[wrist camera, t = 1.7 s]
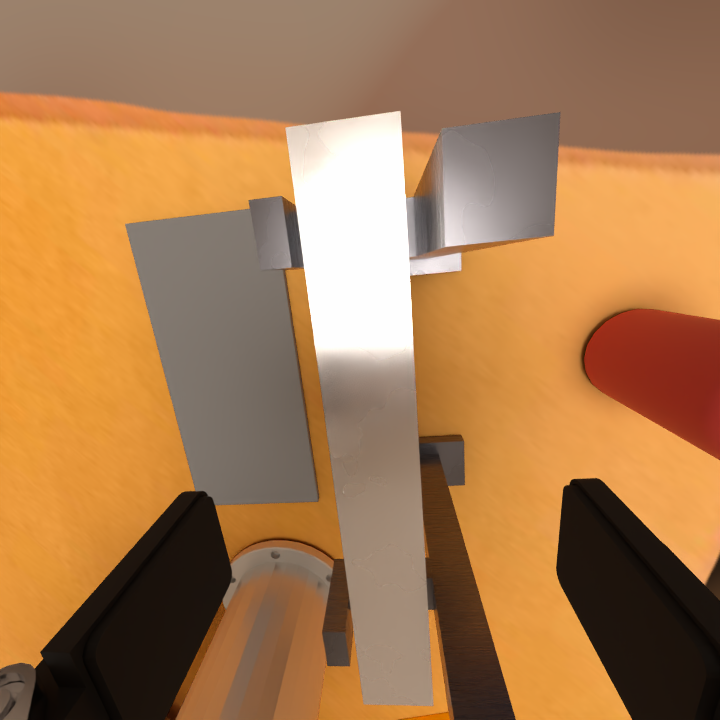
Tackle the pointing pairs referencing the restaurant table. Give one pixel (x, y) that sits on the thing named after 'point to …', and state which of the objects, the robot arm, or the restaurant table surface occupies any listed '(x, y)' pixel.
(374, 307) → the rail
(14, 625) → the restaurant table surface
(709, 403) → the beer can
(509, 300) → the restaurant table surface
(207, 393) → the mat
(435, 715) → the element tile
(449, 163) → the hook stand
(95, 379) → the restaurant table surface
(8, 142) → the restaurant table surface
